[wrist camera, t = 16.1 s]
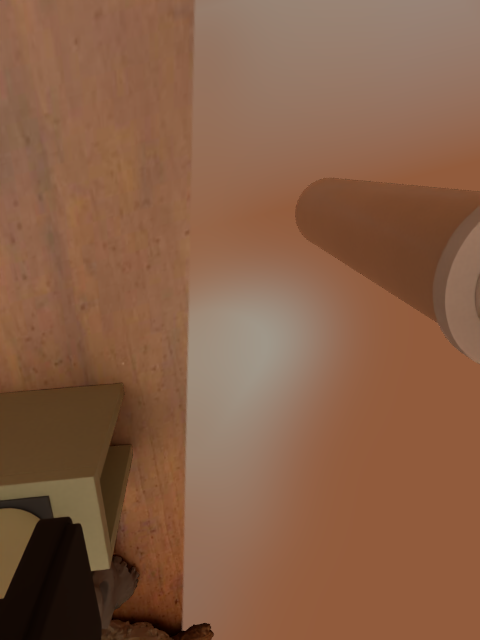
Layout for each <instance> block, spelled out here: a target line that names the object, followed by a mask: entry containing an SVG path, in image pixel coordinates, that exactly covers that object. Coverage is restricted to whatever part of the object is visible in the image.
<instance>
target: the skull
mask: <svg viewBox="0 0 480 640" xmlns="http://www.w3.org/2000/svg"><path fill="white" fill-rule="evenodd" d="M121 561H122V558H121V557H118V556H114V557H112V561H111V566H110V569H105V570H96V571H91V573H92V578H93V583H94V588H95V593H96V598H97V602H98V607H99V612H100V617H101V623H102V629H108V626H109V624H110V621H111V618H112V614H113V612H114V610H115V609H117V608H119V607H120V606H121V605H122V604H123V603H124V602H126V601H127V600H128V599H129V598H130V597H131V596H132V594H133V593H134V590H135V588H136V587H137V582H138V579H137V578H138V576H139V573H138V572H137V571H135V570H136V568H135V567H132V568H131V570H130V571H129V572H128V568H127V567H126V566H127V563H125V562H121ZM120 562H121V564H120Z"/></svg>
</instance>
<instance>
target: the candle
mask: <svg viewBox="0 0 480 640" xmlns="http://www.w3.org/2000/svg"><path fill="white" fill-rule="evenodd" d="M39 520H40V519H39V518H38V517H36V516H35V515H33V514H31V513H29V512H27V511H24V510H21V509H13V508H5V509H0V599H2V598H4V596H5V594H6V592H7V589H8V587H9V585H10V583H11V580H12V578H13V576H14V574H15V571H16V569H17V567H18V564H19V562H20V560H21V558H22V555H23V553H24V551H25V548H26V546H27V544H28V542H29V539H30V537H31V535H32V533H33V530H34V528H35V526H36V524H37V522H38V521H39Z"/></svg>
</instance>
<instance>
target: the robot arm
mask: <svg viewBox="0 0 480 640" xmlns="http://www.w3.org/2000/svg"><path fill="white" fill-rule="evenodd" d="M475 306H476V310H477V315H478V318H479V320H480V274H479V277H478V280H477V285H476V291H475ZM101 635H102V623H101V617H100V612H99V607H98V602H97V598H96V593H95V588H94V583H93V578H92V573H91V568H90V563H89V558H88V554H87V549H86V544H85V539H84V534H83V529H82V526H81V524H80V523H75V524H73V522H72V519H71V518H70V517H59V518H49V519H40V520H39V521H38V522H37V524H36V526H35V528H34V530H33V533H32V535H31V537H30V539H29V542H28V544H27V546H26V548H25V551H24V553H23V555H22V558H21V560H20V562H19V564H18V567H17V569H16V571H15V574H14V576H13V578H12V580H11V583H10V585H9V587H8V589H7V592H6V594H5V596H4V598H2V599H0V640H101Z"/></svg>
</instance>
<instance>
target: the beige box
mask: <svg viewBox="0 0 480 640" xmlns="http://www.w3.org/2000/svg"><path fill="white" fill-rule="evenodd" d="M123 397H124V387H123V383H117V384H105V385H94V386H82V387H70V388H58V389H46V390H34V391H22V392H10V393H0V509H5V508H13V509H21V510H24V511H27V512H29V513H31V514H33V515H35V516H36V517H38V518H39V519H49V518H59V517H70V518H71V519H72V522H73V524H75V523H80V524H81V526H82V529H83V534H84V539H85V544H86V549H87V554H88V558H89V563H90V568H91V571H96V570H105V569H110V566H111V561H112V556H113V552H114V547H115V542H116V537H117V532H118V527H119V522H120V517H121V512H122V507H123V502H124V497H125V492H126V486H127V481H128V476H129V471H130V466H131V461H132V456H133V451H132V445H131V444H130V445H120V446H110V442H111V439H112V435H113V432H114V428H115V425H116V421H117V418H118V414H119V411H120V408H121V404H122V401H123Z"/></svg>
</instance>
